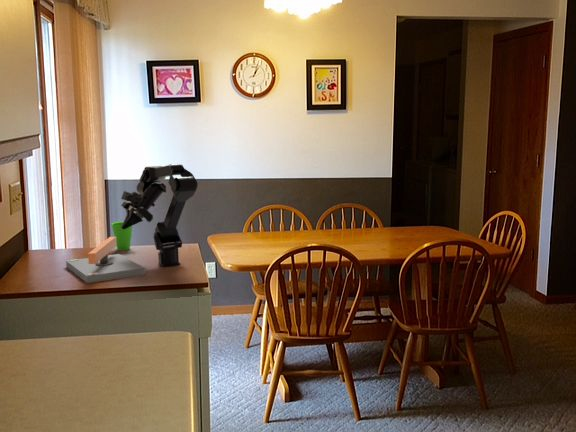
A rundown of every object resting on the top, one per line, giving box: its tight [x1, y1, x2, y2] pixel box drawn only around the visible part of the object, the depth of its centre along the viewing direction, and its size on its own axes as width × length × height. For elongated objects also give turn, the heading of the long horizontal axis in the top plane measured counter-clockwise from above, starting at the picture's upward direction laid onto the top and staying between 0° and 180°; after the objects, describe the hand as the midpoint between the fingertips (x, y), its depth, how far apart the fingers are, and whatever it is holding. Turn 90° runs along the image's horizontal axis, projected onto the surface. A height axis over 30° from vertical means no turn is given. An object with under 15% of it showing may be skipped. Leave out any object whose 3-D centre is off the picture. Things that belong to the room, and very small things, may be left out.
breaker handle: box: [87, 236, 117, 264], centre depth 220 cm, size 3×30×7 cm, turn 3°
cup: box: [110, 221, 133, 251], centre depth 258 cm, size 9×9×11 cm
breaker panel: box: [65, 253, 146, 284], centre depth 221 cm, size 20×28×3 cm
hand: (122, 228), depth 229 cm, fingers closed
